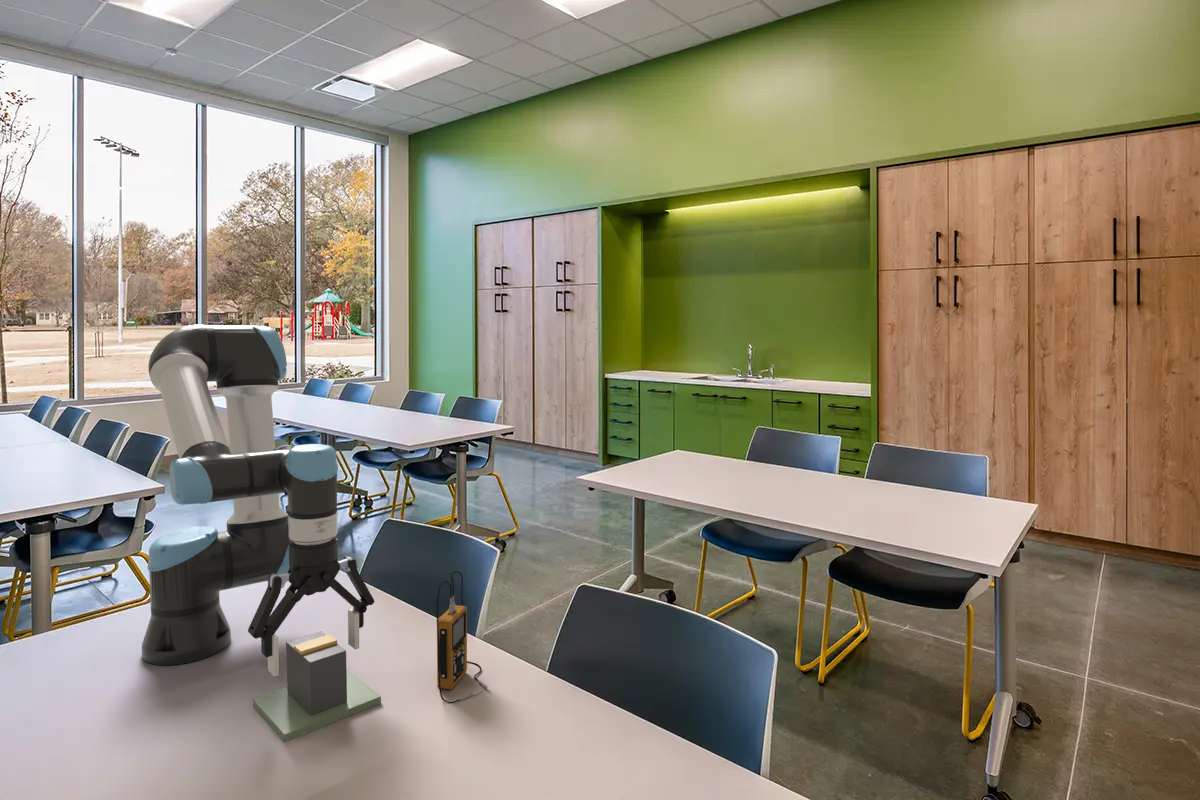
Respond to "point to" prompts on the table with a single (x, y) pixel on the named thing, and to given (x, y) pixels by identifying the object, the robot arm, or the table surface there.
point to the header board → (297, 721)
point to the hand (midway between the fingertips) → (315, 659)
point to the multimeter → (452, 645)
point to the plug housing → (316, 672)
